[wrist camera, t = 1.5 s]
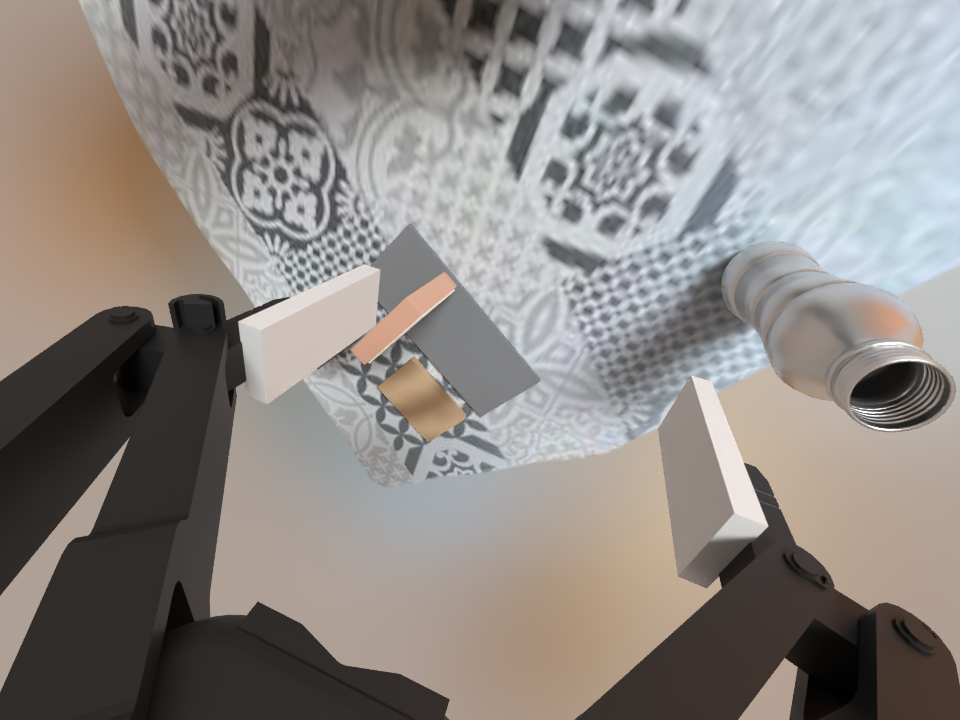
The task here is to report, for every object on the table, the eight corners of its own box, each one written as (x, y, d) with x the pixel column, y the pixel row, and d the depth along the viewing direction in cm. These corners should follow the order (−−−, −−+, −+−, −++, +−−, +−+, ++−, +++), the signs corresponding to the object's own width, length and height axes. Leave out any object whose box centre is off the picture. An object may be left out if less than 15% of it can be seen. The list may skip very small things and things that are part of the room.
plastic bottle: (730, 324, 36) (829, 474, 19) (703, 258, 34) (784, 359, 17) (815, 293, 33) (1022, 439, 16) (790, 219, 31) (991, 296, 14)
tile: (394, 317, 46) (350, 349, 39) (444, 271, 42) (406, 297, 34) (407, 332, 47) (365, 366, 39) (458, 287, 42) (422, 316, 34)
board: (381, 382, 52) (376, 387, 51) (414, 356, 49) (409, 360, 48) (431, 436, 54) (427, 441, 53) (466, 414, 50) (463, 420, 49)
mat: (360, 278, 46) (358, 279, 45) (410, 223, 41) (408, 224, 41) (481, 414, 49) (480, 417, 49) (540, 379, 45) (539, 381, 44)
